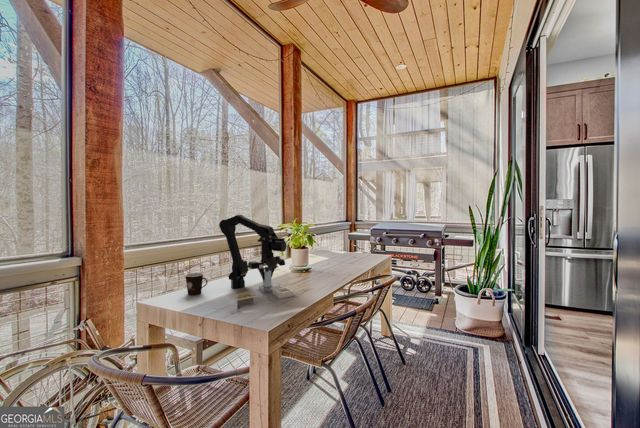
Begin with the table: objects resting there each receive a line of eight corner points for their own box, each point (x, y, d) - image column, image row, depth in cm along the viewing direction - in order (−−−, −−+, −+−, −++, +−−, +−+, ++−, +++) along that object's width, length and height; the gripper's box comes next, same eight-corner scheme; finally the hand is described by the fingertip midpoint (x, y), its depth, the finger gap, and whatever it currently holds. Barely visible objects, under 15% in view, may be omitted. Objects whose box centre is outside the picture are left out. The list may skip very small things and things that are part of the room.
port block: (279, 298, 148) (279, 293, 148) (272, 293, 155) (272, 288, 155) (294, 295, 153) (294, 290, 153) (286, 291, 160) (286, 286, 159)
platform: (221, 307, 140) (221, 293, 140) (257, 300, 151) (257, 286, 151) (230, 315, 131) (230, 300, 130) (268, 306, 141) (268, 292, 141)
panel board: (272, 304, 144) (272, 301, 144) (255, 292, 162) (255, 289, 162) (298, 298, 151) (298, 296, 151) (279, 288, 170) (279, 285, 170)
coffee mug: (182, 293, 159) (182, 274, 159) (198, 290, 165) (198, 272, 165) (192, 298, 151) (192, 278, 151) (209, 294, 157) (208, 275, 157)
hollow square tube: (263, 293, 156) (263, 288, 156) (259, 290, 161) (259, 285, 161) (274, 291, 159) (274, 286, 159) (269, 288, 165) (269, 284, 165)
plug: (265, 287, 158) (265, 268, 157) (262, 285, 161) (262, 267, 160) (271, 286, 160) (271, 267, 159) (268, 284, 163) (268, 266, 162)
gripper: (255, 254, 148) (255, 286, 148) (289, 251, 158) (289, 280, 158) (247, 251, 157) (247, 280, 158) (280, 248, 167) (280, 276, 168)
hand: (266, 279), depth 160 cm, fingers closed on plug, 3 cm apart
